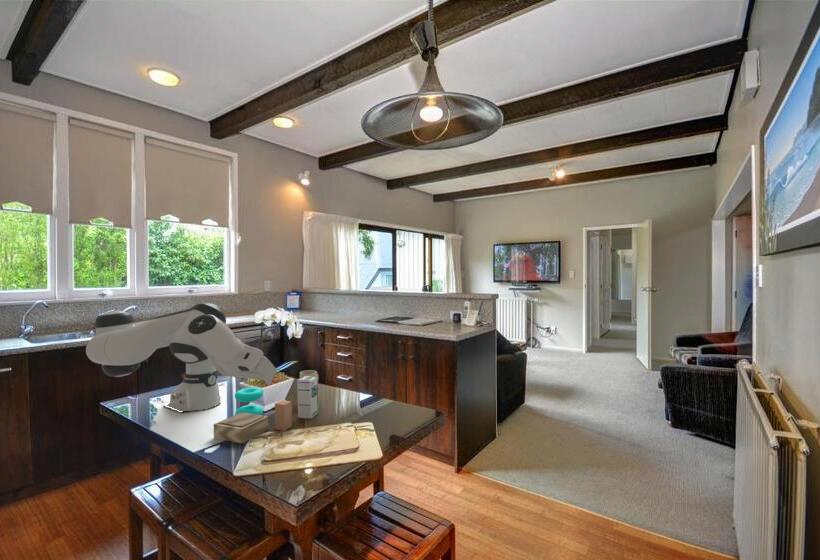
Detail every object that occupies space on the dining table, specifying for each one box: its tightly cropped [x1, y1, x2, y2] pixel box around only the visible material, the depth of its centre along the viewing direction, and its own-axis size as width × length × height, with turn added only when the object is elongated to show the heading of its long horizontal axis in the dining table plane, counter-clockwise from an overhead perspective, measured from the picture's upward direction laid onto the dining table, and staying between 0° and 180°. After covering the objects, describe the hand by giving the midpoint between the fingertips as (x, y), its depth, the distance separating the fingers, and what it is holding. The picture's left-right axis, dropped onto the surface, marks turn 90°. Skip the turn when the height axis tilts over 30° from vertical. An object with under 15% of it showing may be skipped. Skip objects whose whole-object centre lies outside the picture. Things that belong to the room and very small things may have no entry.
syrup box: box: [296, 376, 319, 419], centre depth 146 cm, size 6×6×14 cm
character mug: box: [297, 369, 319, 382], centre depth 162 cm, size 11×7×13 cm, turn 146°
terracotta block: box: [274, 399, 293, 431], centre depth 135 cm, size 4×4×9 cm
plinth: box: [213, 412, 269, 444], centre depth 130 cm, size 12×12×5 cm
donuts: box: [234, 387, 264, 415], centre depth 146 cm, size 10×10×10 cm
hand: (257, 381), depth 122 cm, fingers open, 8 cm apart
